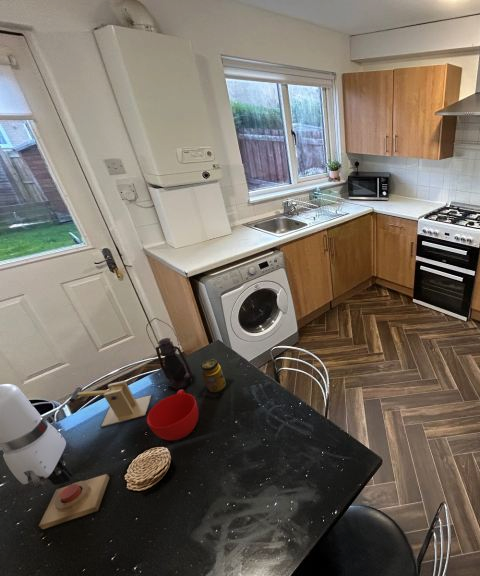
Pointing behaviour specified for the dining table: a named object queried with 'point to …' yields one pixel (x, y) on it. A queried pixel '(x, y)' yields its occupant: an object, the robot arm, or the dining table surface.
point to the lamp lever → (91, 392)
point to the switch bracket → (124, 404)
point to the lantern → (173, 363)
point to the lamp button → (70, 493)
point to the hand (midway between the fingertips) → (64, 479)
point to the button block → (75, 502)
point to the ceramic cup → (174, 416)
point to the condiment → (213, 375)
